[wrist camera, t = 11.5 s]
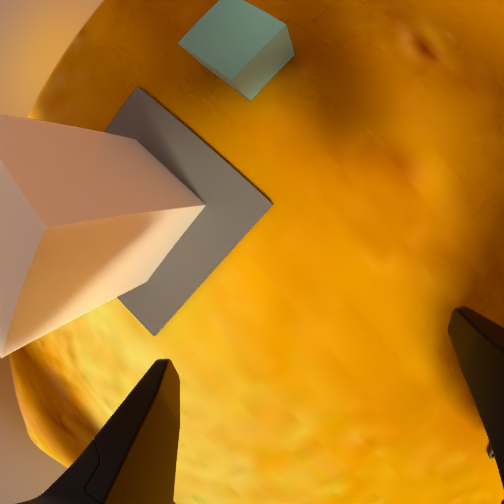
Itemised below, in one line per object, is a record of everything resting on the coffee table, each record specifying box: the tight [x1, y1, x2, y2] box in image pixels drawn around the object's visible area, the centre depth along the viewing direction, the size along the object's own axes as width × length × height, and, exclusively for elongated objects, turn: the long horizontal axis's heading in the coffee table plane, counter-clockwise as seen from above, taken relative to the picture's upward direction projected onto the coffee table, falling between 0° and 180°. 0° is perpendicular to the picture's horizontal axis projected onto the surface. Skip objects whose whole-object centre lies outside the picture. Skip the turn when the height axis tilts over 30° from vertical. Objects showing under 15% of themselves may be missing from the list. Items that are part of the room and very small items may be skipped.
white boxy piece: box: [0, 115, 206, 358], centre depth 14 cm, size 7×7×12 cm
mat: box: [105, 87, 273, 336], centre depth 20 cm, size 12×12×1 cm
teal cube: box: [178, 0, 295, 101], centre depth 15 cm, size 4×4×4 cm
